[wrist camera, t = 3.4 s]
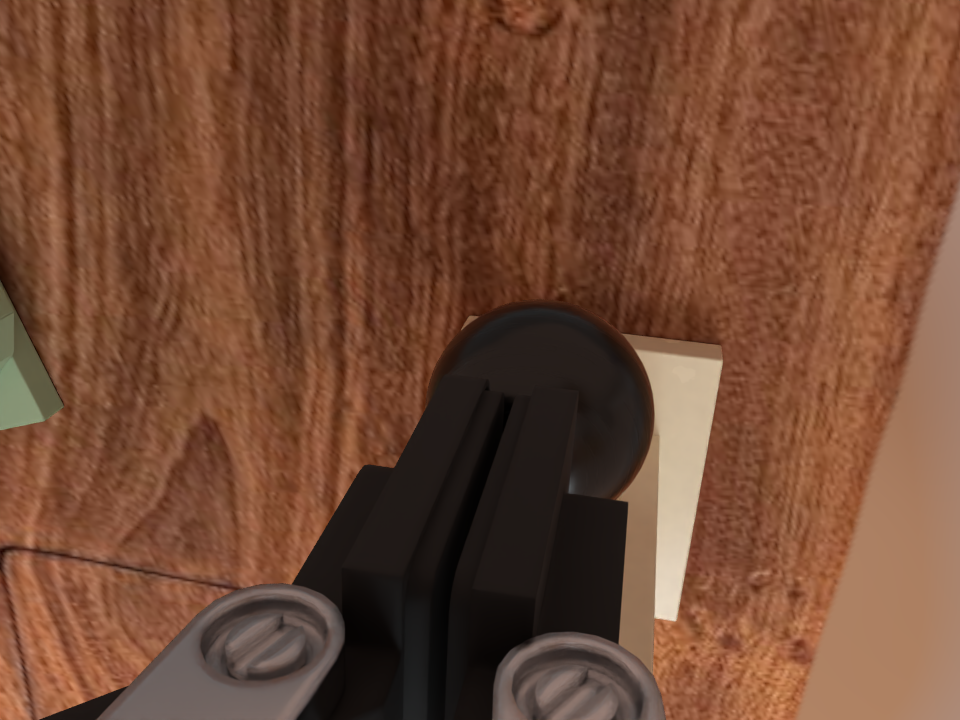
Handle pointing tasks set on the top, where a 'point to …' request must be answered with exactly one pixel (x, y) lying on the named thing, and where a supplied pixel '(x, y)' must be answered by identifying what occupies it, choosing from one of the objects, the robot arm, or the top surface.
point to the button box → (22, 374)
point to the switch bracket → (665, 484)
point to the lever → (565, 382)
